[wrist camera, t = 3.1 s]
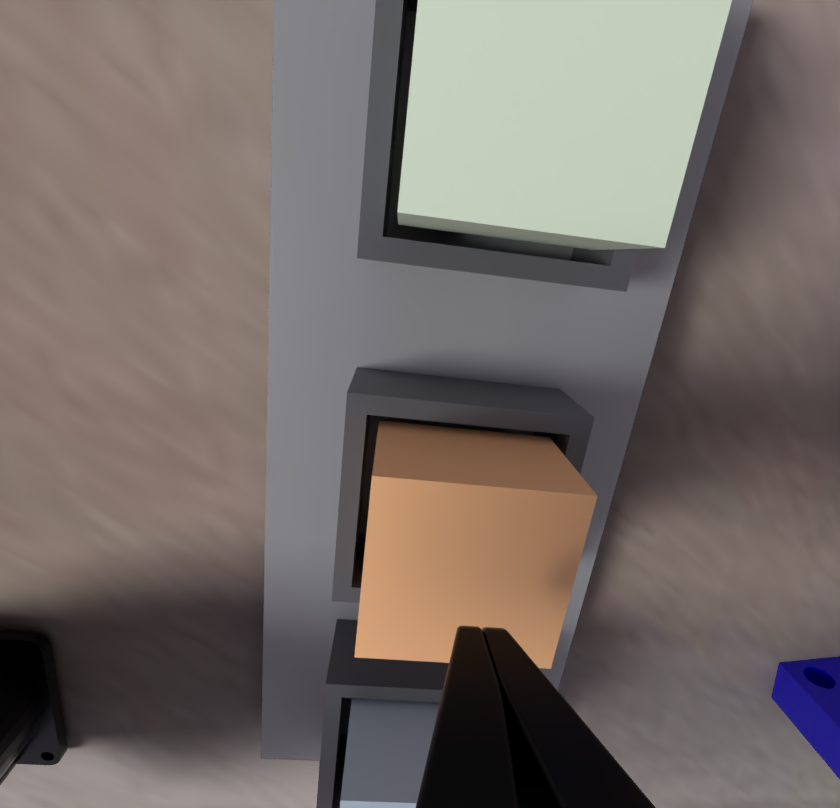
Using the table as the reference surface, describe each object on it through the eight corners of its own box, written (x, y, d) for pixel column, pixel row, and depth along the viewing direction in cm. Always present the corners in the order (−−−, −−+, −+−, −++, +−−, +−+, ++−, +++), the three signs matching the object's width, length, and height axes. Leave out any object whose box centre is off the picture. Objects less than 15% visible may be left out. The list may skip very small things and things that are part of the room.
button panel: (525, 732, 20) (555, 845, 16) (271, 720, 19) (239, 836, 15) (714, 20, 12) (860, -89, 8) (291, -53, 11) (234, -214, 7)
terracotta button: (517, 578, 13) (550, 668, 10) (364, 567, 13) (354, 657, 10) (549, 436, 12) (597, 495, 9) (378, 420, 11) (371, 476, 8)
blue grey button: (469, 791, 16) (485, 910, 13) (343, 787, 15) (330, 907, 13) (491, 697, 14) (513, 806, 12) (352, 690, 14) (340, 800, 11)
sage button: (591, 250, 10) (664, 248, 7) (398, 225, 10) (396, 212, 7) (643, 16, 9) (758, -98, 6) (422, -23, 9) (433, -162, 6)
